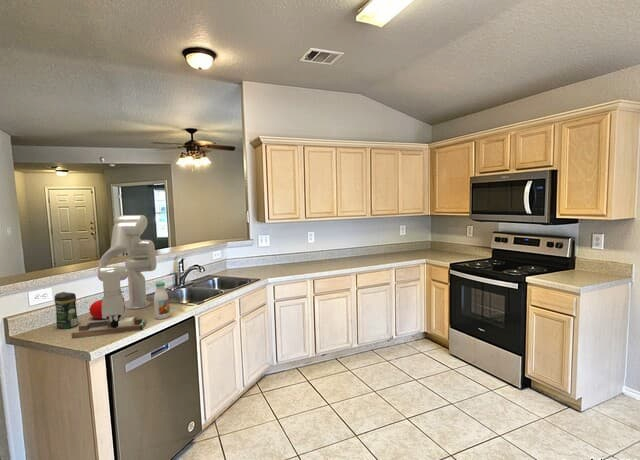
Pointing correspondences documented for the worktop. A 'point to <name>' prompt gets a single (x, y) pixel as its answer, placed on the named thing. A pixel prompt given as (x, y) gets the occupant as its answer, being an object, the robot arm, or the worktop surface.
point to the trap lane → (107, 331)
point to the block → (126, 322)
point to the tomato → (96, 309)
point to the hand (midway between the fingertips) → (114, 328)
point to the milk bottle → (161, 302)
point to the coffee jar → (66, 310)
